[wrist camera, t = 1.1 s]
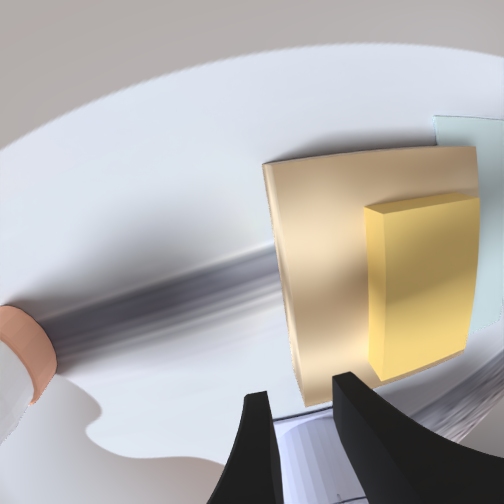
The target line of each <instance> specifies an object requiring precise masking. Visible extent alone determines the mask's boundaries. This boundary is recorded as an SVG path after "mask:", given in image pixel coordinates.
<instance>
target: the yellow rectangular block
mask: <svg viewBox="0 0 504 504" xmlns="http://www.w3.org/2000/svg"><path fill="white" fill-rule="evenodd" d="M364 217H365V229H366V243H367V261H368V288H369V347H368V362H369V363H370V365H371V366H372V368H373V369H374V371H375V372H376V374H377V375H378V377H379V379H380V380H381V381H384V380H387V379H390V378H393V377H396V376H399V375H401V374H404V373H407V372H410V371H412V370H415V369H418V368H420V367H423V366H425V365H428V364H430V363H433V362H435V361H437V360H440V359H442V358H445V357H447V356H449V355H451V354H454V353H456V352H458V351H460V350H463V349H465V346H466V341H467V337H468V331H469V326H470V320H471V315H472V308H473V301H474V294H475V286H476V277H477V267H478V254H479V234H480V198H478V197H474V196H469V195H465V194H461V193H449V194H442V195H435V196H429V197H422V198H415V199H409V200H403V201H396V202H390V203H383V204H377V205H371V206H365V207H364Z"/></svg>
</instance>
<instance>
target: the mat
mask: <svg viewBox="0 0 504 504" xmlns="http://www.w3.org/2000/svg"><path fill="white" fill-rule="evenodd" d="M433 121H434V128H435V135H436V142H437V146H476V153H477V165H478V182H479V198H480V234H479V254H478V267H477V277H476V286H475V294H474V301H473V308H472V315H471V320H470V326H469V331H468V335H470V334H472V333H474V332H476V331H478V330H480V329H483V328H485V327H487V326H489V325H491V324H493V323H495V322H497V321H499V320H500V315H501V310H502V305H503V300H504V120H494V119H482V118H468V117H445V116H433Z"/></svg>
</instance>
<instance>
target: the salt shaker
mask: <svg viewBox="0 0 504 504" xmlns="http://www.w3.org/2000/svg"><path fill="white" fill-rule="evenodd" d="M56 368H57V360H56V353H55V351H54V348H53V346H52V343H51V341H50V339H49V338H48V336H47V335H46V333H45V332H44V330H43V329H42V327H41V326H40V325H39V324H38V323H37V322H36V321H35V320H34V319H33V318H32V317H31V316H29V315H28V314H26V313H25V312H24V311H22V310H21V309H18V308H15V307H12V306H0V445H1V444H2V443H3V441H4V440H5V439H6V438H7V437H8V436H9V435H10V434H11V433H12V432H13V431H14V429H15V428H16V427H17V425H18V423H19V421H20V419H21V418H22V416H23V414H24V412H25V410H26V409H27V407H28V405H31V404H34V403H35V402H36V401H37V400H38V399H39V398H40V396H41V395H42V393H43V391H44V390H45V388H46V387H47V385H48V384H49V382H50V380H51V379H52V378H53V376H54V374H55V372H56Z"/></svg>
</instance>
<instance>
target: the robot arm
mask: <svg viewBox="0 0 504 504" xmlns="http://www.w3.org/2000/svg"><path fill="white" fill-rule="evenodd" d="M332 395H333V408H332V409H328V410H325V411H321V412H317V413H313V414H308V415H304V416H300V417H295V418H291V419H286V420H281V421H276V422H273V419H272V414H271V409H270V405H269V400H268V395H267V391H263V392H257V393H251V394H247V395H246V396H245V397H244V405H243V411H242V416H241V420H240V424H239V428H238V432H237V435H236V438H235V441H234V444H233V448H232V450H231V453H230V456H229V458H228V461H227V463H226V466H225V468H224V471H223V473H222V475H221V477H220V479H219V481H218V483H217V486H216V488H215V489H214V491H213V493H212V495H211V497H210V499H209V500H208V502H207V504H504V458H501V457H497V456H493V455H489V454H486V453H482V452H479V451H476V450H474V449H471V448H468V447H465V446H462V445H460V444H457V443H455V442H453V441H451V440H448V439H446V438H444V437H442V436H440V435H438V434H436V433H434V432H432V431H430V430H429V429H427V428H425V427H423V426H422V425H420V424H419V423H417V422H415V421H414V420H412V419H411V418H409V417H408V416H406V415H405V414H403V413H402V412H400V411H399V410H398V409H396V408H395V407H394V406H392V405H391V404H390V403H388V402H387V401H386V400H384V399H383V398H382V397H380V396H379V395H378V394H377V393H376V392H374V391H373V390H372V389H371V388H370V387H368V386H367V385H366V384H365V383H364V382H363V381H362V380H360V379H359V378H358V377H357V376H356V375H355V374H354V373H352V372H351V371H349V372H345V373H342V374H338V375H334V376H332Z"/></svg>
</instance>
